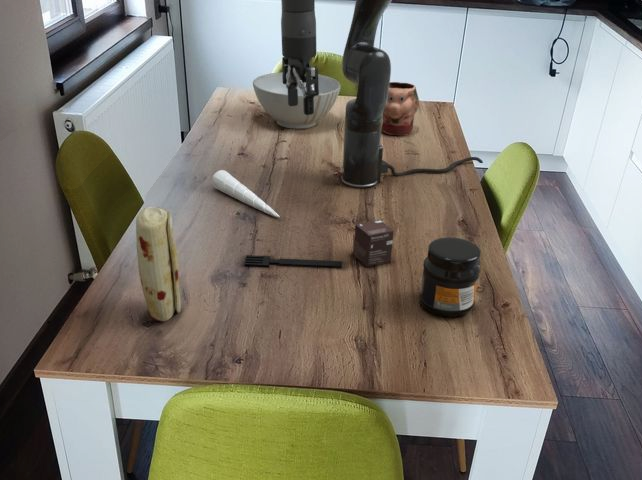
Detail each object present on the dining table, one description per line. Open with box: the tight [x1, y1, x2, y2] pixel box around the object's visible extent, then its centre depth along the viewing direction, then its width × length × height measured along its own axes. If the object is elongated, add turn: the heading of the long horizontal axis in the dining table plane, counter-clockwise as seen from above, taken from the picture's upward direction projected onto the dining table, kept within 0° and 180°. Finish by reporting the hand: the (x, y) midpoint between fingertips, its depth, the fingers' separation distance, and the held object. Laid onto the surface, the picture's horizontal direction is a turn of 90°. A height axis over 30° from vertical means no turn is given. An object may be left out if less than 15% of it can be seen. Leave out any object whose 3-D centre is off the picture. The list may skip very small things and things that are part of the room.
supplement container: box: [419, 236, 482, 318], centre depth 131 cm, size 10×10×12 cm
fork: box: [243, 254, 343, 269], centre depth 146 cm, size 20×4×1 cm, turn 90°
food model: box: [135, 205, 182, 322], centre depth 122 cm, size 10×7×20 cm
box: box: [353, 219, 394, 267], centre depth 147 cm, size 6×6×7 cm
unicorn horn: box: [211, 169, 281, 218], centre depth 168 cm, size 5×24×5 cm, turn 40°
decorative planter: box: [381, 81, 420, 136], centre depth 216 cm, size 20×12×14 cm, turn 174°
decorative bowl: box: [252, 71, 341, 130], centre depth 219 cm, size 27×27×12 cm
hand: (300, 109), depth 161 cm, fingers open, 8 cm apart
